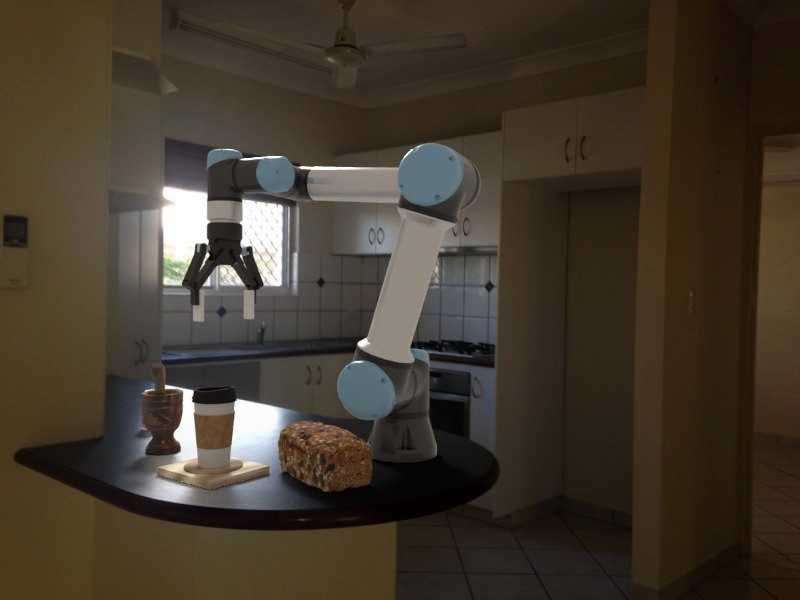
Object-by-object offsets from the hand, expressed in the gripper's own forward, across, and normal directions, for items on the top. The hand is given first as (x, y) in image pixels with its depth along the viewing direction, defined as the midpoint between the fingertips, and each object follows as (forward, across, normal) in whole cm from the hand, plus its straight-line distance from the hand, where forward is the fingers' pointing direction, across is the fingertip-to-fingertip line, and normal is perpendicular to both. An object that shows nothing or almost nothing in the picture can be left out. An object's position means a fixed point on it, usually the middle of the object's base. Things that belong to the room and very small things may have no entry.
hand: (224, 320), depth 150 cm
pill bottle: (+29, -4, -33) cm, 44 cm away
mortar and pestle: (+29, +9, -9) cm, 32 cm away
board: (+29, +13, +13) cm, 34 cm away
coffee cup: (+27, +13, +13) cm, 33 cm away
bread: (+29, +2, +31) cm, 43 cm away
